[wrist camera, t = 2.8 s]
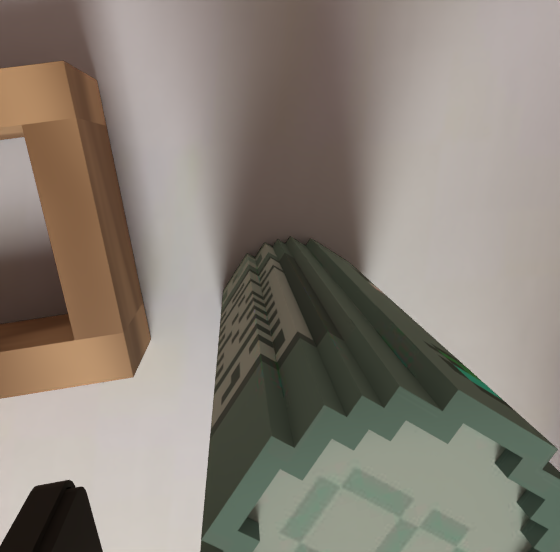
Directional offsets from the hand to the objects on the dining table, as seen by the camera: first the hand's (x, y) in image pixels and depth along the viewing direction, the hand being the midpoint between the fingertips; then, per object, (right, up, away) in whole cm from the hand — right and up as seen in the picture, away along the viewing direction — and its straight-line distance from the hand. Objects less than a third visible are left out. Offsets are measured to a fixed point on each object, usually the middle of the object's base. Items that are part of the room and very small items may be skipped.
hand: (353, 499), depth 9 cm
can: (-1, +3, +14) cm, 14 cm away
